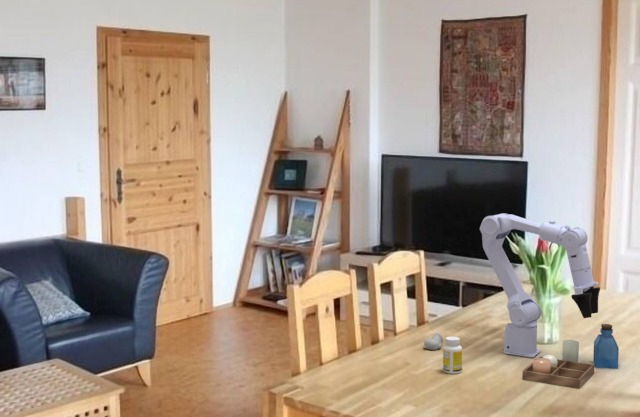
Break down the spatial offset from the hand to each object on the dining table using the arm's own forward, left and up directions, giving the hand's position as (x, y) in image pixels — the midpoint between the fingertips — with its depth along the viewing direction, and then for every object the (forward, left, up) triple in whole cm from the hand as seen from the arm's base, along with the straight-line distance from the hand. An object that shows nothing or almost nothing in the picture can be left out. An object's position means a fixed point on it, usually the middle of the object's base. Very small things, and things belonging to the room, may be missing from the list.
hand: (590, 315), depth 249 cm
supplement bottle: (-33, -25, -15) cm, 44 cm away
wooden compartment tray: (-5, -14, -15) cm, 21 cm away
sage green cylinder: (-6, 0, -15) cm, 16 cm away
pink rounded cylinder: (-9, -18, -15) cm, 25 cm away
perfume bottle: (+4, +3, -15) cm, 16 cm away
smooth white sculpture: (-47, -5, -16) cm, 50 cm away
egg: (-9, -10, -15) cm, 20 cm away
